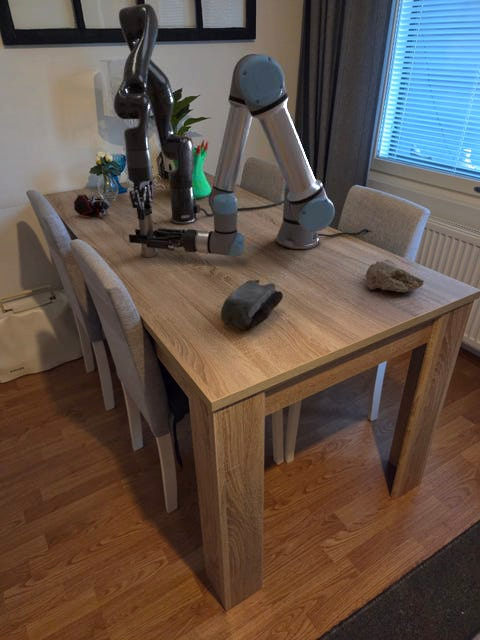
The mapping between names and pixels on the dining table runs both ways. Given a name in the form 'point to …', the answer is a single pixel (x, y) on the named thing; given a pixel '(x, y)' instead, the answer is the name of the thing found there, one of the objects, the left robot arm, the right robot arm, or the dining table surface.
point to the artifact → (391, 277)
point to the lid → (147, 210)
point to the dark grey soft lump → (250, 304)
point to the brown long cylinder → (147, 229)
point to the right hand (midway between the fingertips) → (132, 235)
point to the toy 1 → (90, 206)
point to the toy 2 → (199, 172)
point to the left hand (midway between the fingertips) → (145, 216)
